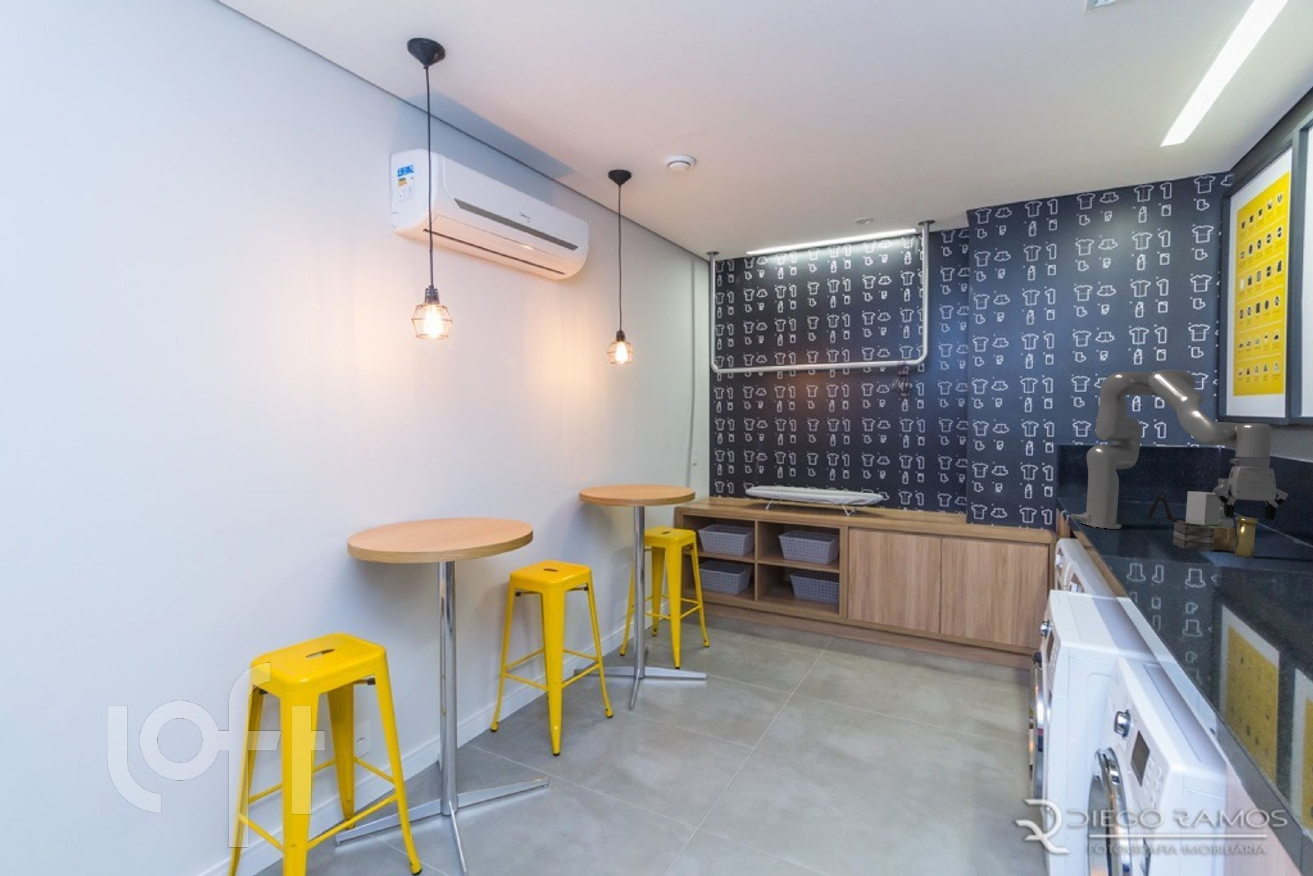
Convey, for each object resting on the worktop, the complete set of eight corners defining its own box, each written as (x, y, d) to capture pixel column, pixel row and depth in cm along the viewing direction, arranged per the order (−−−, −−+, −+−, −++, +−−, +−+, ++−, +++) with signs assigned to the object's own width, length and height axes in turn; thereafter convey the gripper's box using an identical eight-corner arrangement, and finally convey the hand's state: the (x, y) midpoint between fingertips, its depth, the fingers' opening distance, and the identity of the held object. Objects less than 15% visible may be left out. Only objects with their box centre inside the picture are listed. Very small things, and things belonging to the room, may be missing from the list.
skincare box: (1203, 536, 214) (1206, 493, 213) (1182, 532, 221) (1185, 491, 220) (1219, 535, 216) (1223, 493, 216) (1198, 532, 223) (1202, 490, 222)
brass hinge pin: (1238, 557, 183) (1241, 518, 182) (1229, 553, 188) (1232, 516, 187) (1259, 559, 181) (1262, 520, 181) (1249, 555, 186) (1252, 517, 185)
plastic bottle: (1208, 528, 231) (1212, 477, 230) (1232, 531, 226) (1236, 478, 225) (1209, 530, 226) (1213, 478, 225) (1234, 533, 221) (1238, 480, 220)
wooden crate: (1183, 548, 192) (1185, 526, 192) (1172, 543, 199) (1174, 522, 199) (1238, 553, 188) (1239, 530, 187) (1224, 548, 195) (1226, 526, 194)
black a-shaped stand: (1174, 520, 247) (1176, 491, 246) (1173, 522, 243) (1176, 493, 242) (1146, 517, 253) (1148, 489, 253) (1145, 518, 249) (1147, 490, 248)
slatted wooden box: (1183, 549, 192) (1185, 526, 192) (1164, 540, 205) (1165, 519, 205) (1212, 551, 190) (1214, 528, 189) (1191, 542, 203) (1193, 521, 202)
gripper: (1223, 462, 182) (1220, 518, 183) (1296, 465, 176) (1293, 522, 177) (1210, 461, 189) (1207, 514, 190) (1280, 463, 183) (1277, 518, 184)
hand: (1249, 518), depth 183 cm, fingers open, 9 cm apart
